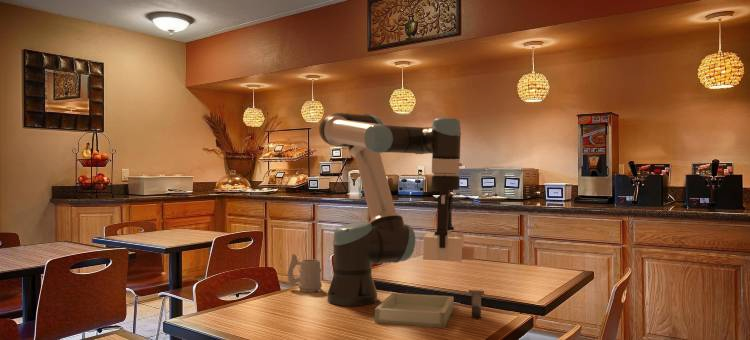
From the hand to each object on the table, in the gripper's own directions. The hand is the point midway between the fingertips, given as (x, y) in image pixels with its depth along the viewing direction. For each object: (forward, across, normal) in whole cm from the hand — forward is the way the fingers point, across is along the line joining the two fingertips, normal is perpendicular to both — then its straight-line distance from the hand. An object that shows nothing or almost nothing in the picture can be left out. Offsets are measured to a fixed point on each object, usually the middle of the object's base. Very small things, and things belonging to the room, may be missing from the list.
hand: (444, 256), depth 143 cm
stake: (+16, 0, -9) cm, 18 cm away
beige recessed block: (0, 0, -1) cm, 1 cm away
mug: (+18, +22, +48) cm, 56 cm away
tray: (+16, -2, +7) cm, 18 cm away
